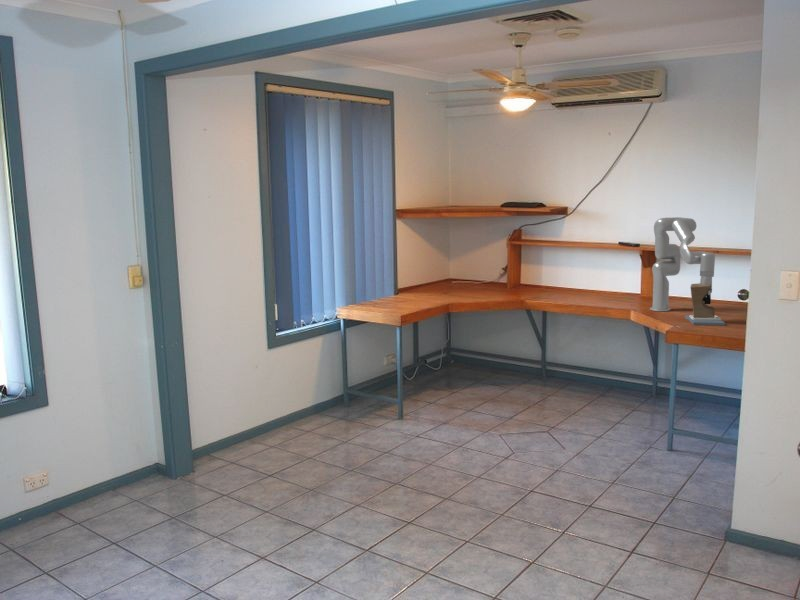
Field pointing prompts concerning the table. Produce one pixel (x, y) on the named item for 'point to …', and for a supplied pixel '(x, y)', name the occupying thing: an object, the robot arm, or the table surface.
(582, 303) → the table surface
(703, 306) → the decorative block
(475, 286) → the table surface
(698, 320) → the board
